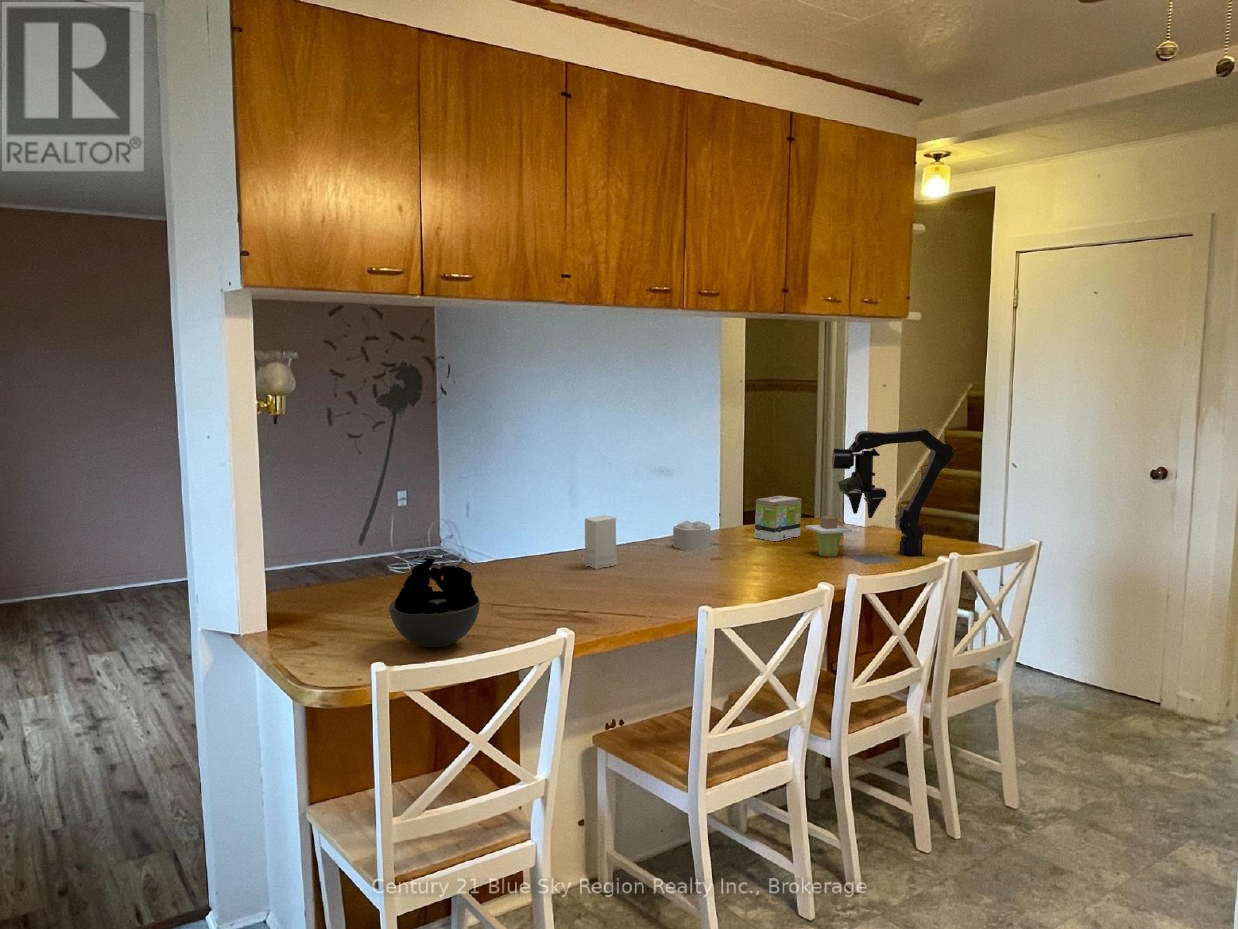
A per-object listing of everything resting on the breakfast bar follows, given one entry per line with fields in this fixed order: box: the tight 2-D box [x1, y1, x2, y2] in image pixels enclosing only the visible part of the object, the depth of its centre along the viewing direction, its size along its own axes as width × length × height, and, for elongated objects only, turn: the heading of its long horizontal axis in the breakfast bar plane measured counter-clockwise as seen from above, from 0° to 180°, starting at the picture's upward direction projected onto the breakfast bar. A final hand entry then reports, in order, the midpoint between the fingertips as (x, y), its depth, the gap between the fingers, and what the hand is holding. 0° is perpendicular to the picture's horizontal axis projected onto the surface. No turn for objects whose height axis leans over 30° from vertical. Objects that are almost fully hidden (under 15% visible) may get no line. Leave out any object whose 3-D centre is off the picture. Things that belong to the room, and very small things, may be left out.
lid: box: [805, 515, 853, 534], centre depth 291 cm, size 11×11×4 cm
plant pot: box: [815, 532, 843, 557], centre depth 292 cm, size 9×9×9 cm
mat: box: [845, 552, 903, 565], centre depth 285 cm, size 13×13×1 cm
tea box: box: [754, 495, 802, 542], centre depth 322 cm, size 15×10×15 cm
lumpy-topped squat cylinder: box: [672, 520, 711, 551], centre depth 307 cm, size 10×13×9 cm
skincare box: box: [584, 514, 617, 569], centre depth 277 cm, size 8×7×16 cm
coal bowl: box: [388, 557, 481, 648], centre depth 198 cm, size 20×20×19 cm
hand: (862, 515), depth 292 cm, fingers open, 9 cm apart
